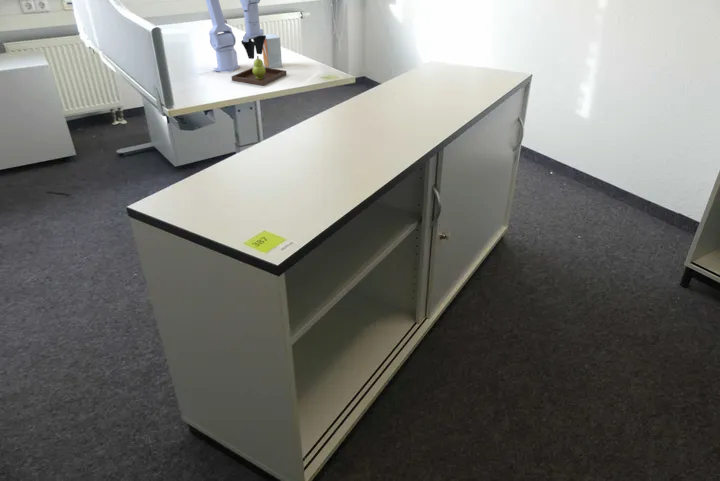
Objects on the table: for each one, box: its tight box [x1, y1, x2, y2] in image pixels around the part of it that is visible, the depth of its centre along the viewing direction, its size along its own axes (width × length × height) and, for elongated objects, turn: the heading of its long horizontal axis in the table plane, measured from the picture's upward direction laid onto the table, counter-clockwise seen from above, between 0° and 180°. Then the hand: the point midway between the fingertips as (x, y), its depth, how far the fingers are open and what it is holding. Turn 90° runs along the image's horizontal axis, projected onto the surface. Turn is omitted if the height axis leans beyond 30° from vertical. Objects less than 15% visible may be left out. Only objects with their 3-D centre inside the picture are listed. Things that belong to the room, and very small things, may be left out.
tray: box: [231, 66, 288, 87], centre depth 234 cm, size 18×16×2 cm
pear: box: [252, 55, 266, 79], centre depth 232 cm, size 5×5×9 cm
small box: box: [262, 33, 283, 69], centre depth 248 cm, size 8×6×13 cm
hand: (255, 56), depth 229 cm, fingers open, 7 cm apart
